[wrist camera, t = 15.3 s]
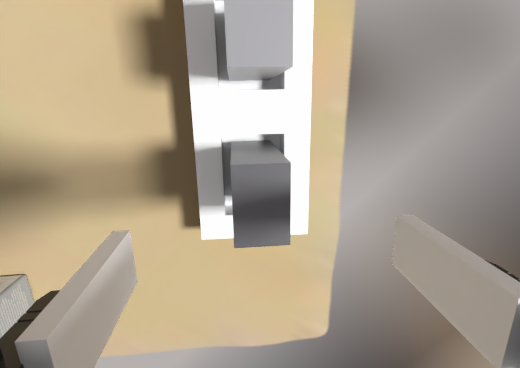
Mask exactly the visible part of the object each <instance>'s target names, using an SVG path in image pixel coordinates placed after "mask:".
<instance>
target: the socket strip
mask: <svg viewBox="0 0 520 368" xmlns="http://www.w3.org/2000/svg"><path fill="white" fill-rule="evenodd" d="M183 8H184V21H185V34H186V47H187V59H188V72H189V85H190V97H191V110H192V123H193V136H194V148H195V161H196V174H197V186H198V199H199V212H200V225H201V237H202V240H205V239H223V238H234V230H233V209H232V188H231V166H230V164H231V141H259V140H270V141H271V142H272V143H273V144H274V145H275V146H276V147H277V149H278V150H279V151H280V152H281V153H282V154H283V155H284V156H285V157H286V158H287V159H288V160H289V161H290V162H291V209H290V235H295V234H308V203H309V165H310V126H311V88H312V50H313V11H314V0H183Z"/></svg>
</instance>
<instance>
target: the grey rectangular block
mask: <svg viewBox="0 0 520 368" xmlns="http://www.w3.org/2000/svg"><path fill="white" fill-rule="evenodd" d="M230 166H231V188H232V209H233V230H234V248H245V247H262V246H279V245H290V209H291V162H290V161H289V160H288V159H287V158H286V157H285V156H284V155H283V154H282V153H281V152H280V151H279V150H278V149H277V147H276V146H275V145H274V144H273V143H272V142H271V141H270V140H259V141H231V164H230Z"/></svg>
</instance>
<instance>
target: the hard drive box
mask: <svg viewBox="0 0 520 368" xmlns="http://www.w3.org/2000/svg"><path fill="white" fill-rule="evenodd" d="M34 303H35V302H34V299H33V295H32V292H31V289H30V286H29V282H28V279H27V276H26V275H15V276H4V277H0V338H1V337H2V336H3V335H4V334H5V333H6V332H7V331H8V330H9V329H10V328H11V327H12V326H13V325H14V324H15V323H17V320H18V319H19V318H20V317H21V316H22V315H23V314H25V313H26V311H27V310H28V309H29V308H30V307H31V306H32V305H33V304H34Z"/></svg>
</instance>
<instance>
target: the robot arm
mask: <svg viewBox="0 0 520 368" xmlns="http://www.w3.org/2000/svg"><path fill="white" fill-rule="evenodd" d="M392 264H393V265H394V266H395V267H396V268H397V269H398V270H399V271H400V272H401V273H402V274H403V275H404V276H405V277H406V278H407V279H408V280H409V281H410V282H411V283H412V284H413V285H414V286H415V287H416V288H417V289H418V290H419V291H420V292H421V293H422V294H423V296H425V298H426V299H427V300H429V301H430V303H431V304H433V306H434V307H435V308H436V309H438V311H439V312H440V313H441V314H442V315H443V316H444V317H445V318H446V319H447V320H448V321H449V322H450V323H451V324H452V325H453V326H454V327H455V328H456V329H457V330H458V331H459V332H460V333H461V334H462V335H463V336H464V337H465V338H466V339H467V340H468V341H469V342H470V343H471V344H472V345H473V346H474V347H475V348H476V349H477V350H478V351H479V352H480V353H481V354H482V355H483V356H484V357H485V358H486V359H487V360H488V361H489V362H490V363H491V364H492V365H493V366H494V367H495V368H520V279H519V278H517V277H515V276H514V275H512V274H510V273H509V272H508V271H506V270H504V269H503V268H501V267H499V266H498V265H496V264H493V263H491V262H488V261H486V260H484V259H482V258H480V257H479V256H477V255H475V254H474V253H472V252H471V251H469V250H468V249H466V248H464V247H463V246H461V245H460V244H458V243H456V242H455V241H453V240H452V239H450V238H448V237H447V236H445V235H444V234H442V233H440V232H439V231H437V230H436V229H434V228H432V227H431V226H429V225H428V224H426V223H424V222H423V221H421V220H420V219H418V218H417V217H415V216H413V215H412V214H410V215H409V214H408V215H397V221H396V229H395V239H394V246H393V255H392ZM136 284H137V275H136V268H135V262H134V255H133V248H132V242H131V235H130V230H127V231H113V232H112V233H111V234H110V235H109V236H108V237H107V238H106V240H105V241H104V242H103V243H102V244H101V245H100V246H99V247H98V249H97V250H96V251H95V252H94V253H93V254H92V255H91V256H90V258H89V259H88V260H87V261H86V262H85V263H84V264H83V265H82V267H81V268H80V269H79V270H78V271H77V272H76V273H75V274H74V276H73V277H72V278H71V279H70V280H69V281H68V282H67V283H66V285H65V286H64V287H63V288H62V289H61V290H58V291H51V292H49V293H48V294H46V295H44V296H43V297H41V298H40V299H38V300H37V301H36V302H35V303H34V304H33V305H32V306H31V307H30V308H29V309H28V310H27V311H26V313H25V314H23V315H22V316H21V317H20V318H19V319H18V320H17V323H15V324H14V325H13V326H12V327H11V328H10V329H9V330H8V331H7V332H6V333H5V334H4V335H3V336H2V337H1V338H0V368H94V367H95V365H96V363H97V361H98V359H99V357H100V355H101V353H102V351H103V349H104V347H105V345H106V343H107V341H108V339H109V337H110V335H111V333H112V331H113V329H114V327H115V325H116V323H117V321H118V319H119V317H120V315H121V313H122V311H123V309H124V307H125V305H126V304H127V302H128V300H129V298H130V296H131V294H132V292H133V290H134V288H135V286H136Z"/></svg>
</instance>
